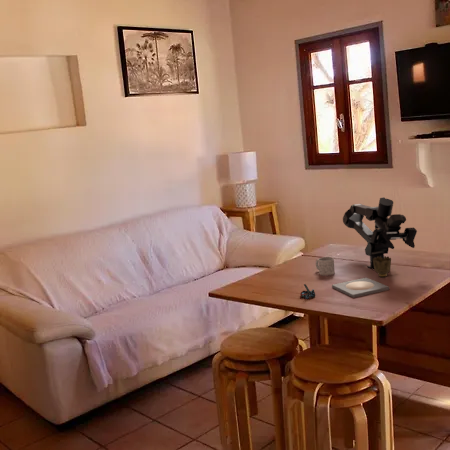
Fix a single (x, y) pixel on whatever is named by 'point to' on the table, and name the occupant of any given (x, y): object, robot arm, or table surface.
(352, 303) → the table surface
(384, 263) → the brown mottled round piece
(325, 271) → the mug
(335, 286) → the board
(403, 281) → the table surface
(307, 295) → the dark blue lumpy piece
